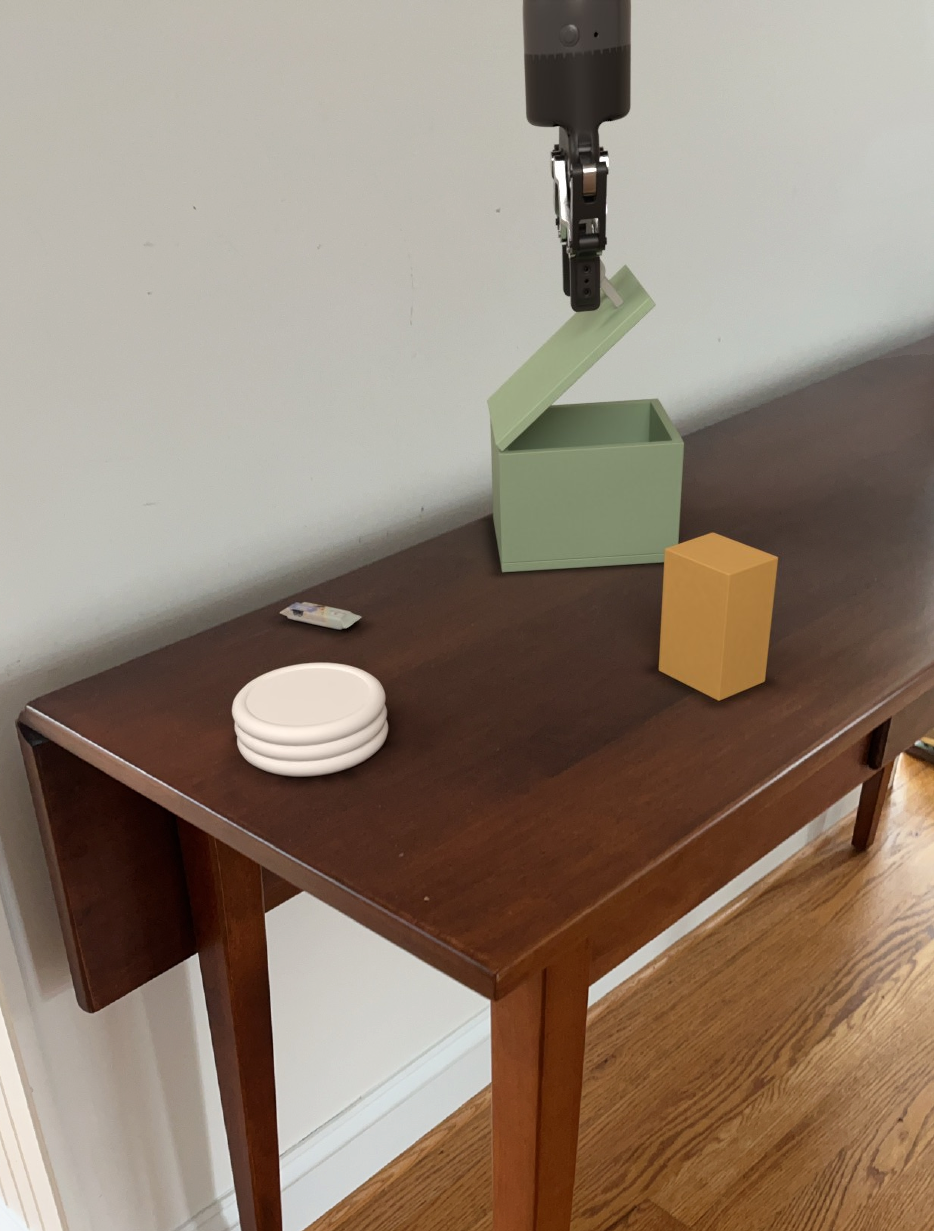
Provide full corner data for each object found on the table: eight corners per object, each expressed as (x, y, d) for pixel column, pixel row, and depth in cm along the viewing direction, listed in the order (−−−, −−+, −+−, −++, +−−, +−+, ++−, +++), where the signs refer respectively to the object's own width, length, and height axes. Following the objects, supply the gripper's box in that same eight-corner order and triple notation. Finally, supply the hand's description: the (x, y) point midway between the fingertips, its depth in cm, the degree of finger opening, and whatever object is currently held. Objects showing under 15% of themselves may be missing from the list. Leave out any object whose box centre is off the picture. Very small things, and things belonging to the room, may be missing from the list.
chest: (653, 509, 115) (658, 398, 109) (677, 561, 105) (684, 442, 99) (493, 519, 115) (489, 409, 110) (502, 572, 105) (498, 454, 99)
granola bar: (365, 612, 98) (339, 624, 96) (366, 627, 98) (340, 639, 96) (301, 591, 101) (275, 603, 99) (302, 605, 102) (276, 617, 100)
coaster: (313, 797, 78) (306, 747, 76) (207, 750, 84) (198, 703, 82) (419, 731, 84) (416, 684, 82) (314, 692, 90) (308, 646, 88)
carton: (703, 652, 91) (712, 531, 86) (765, 681, 87) (778, 556, 82) (658, 670, 89) (664, 548, 84) (718, 701, 85) (729, 574, 80)
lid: (631, 271, 103) (592, 222, 101) (656, 305, 93) (613, 251, 91) (492, 407, 110) (453, 363, 107) (502, 452, 99) (458, 405, 97)
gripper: (646, 42, 83) (643, 318, 93) (616, 33, 95) (616, 279, 105) (532, 54, 83) (541, 328, 93) (516, 43, 95) (526, 288, 105)
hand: (581, 301), depth 99 cm, fingers closed on lid, 5 cm apart
